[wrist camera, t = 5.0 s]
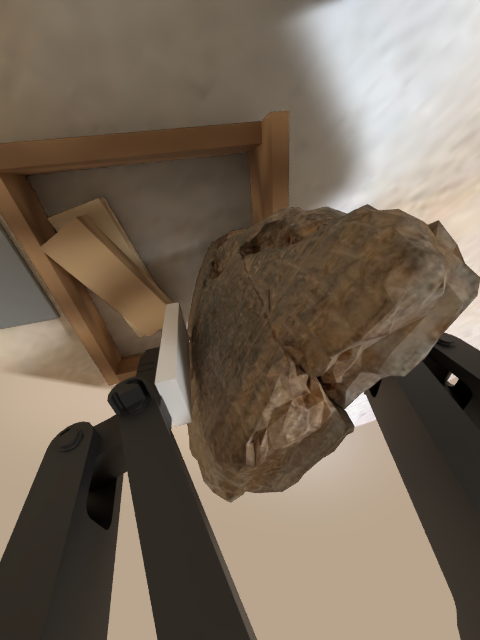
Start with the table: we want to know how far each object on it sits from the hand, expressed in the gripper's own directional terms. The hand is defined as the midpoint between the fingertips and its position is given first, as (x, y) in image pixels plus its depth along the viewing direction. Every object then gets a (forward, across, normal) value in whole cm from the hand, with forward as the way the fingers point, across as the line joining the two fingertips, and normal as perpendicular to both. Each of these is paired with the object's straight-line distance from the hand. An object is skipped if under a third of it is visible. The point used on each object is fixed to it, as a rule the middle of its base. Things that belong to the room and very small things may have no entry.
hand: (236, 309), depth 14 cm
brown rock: (+11, 0, 0) cm, 11 cm away
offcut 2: (+9, -9, +1) cm, 13 cm away
